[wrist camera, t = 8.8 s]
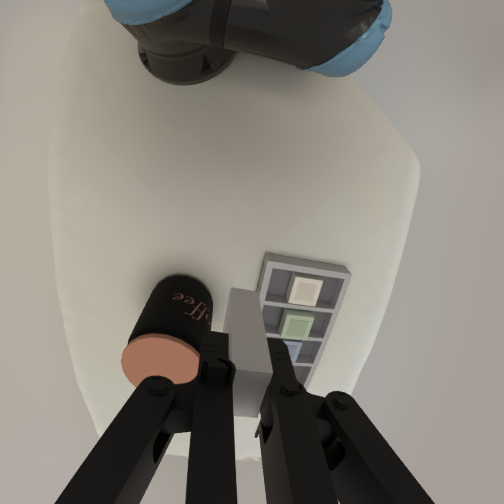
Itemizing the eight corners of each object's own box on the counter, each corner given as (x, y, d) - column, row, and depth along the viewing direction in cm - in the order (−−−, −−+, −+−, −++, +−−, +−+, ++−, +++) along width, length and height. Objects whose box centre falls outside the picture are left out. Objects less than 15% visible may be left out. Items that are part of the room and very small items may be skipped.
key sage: (284, 307, 47) (287, 315, 45) (311, 310, 48) (314, 318, 45) (278, 329, 48) (280, 338, 46) (303, 332, 49) (306, 341, 47)
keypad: (265, 253, 47) (267, 260, 43) (344, 266, 48) (351, 274, 45) (236, 374, 55) (237, 386, 51) (303, 379, 56) (306, 390, 53)
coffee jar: (223, 315, 50) (221, 390, 33) (171, 334, 51) (151, 407, 34) (196, 263, 46) (178, 325, 29) (141, 286, 47) (104, 350, 30)
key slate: (275, 332, 50) (277, 340, 48) (299, 334, 51) (302, 343, 48) (269, 352, 52) (271, 361, 49) (293, 354, 52) (295, 363, 50)
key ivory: (292, 270, 46) (295, 277, 44) (319, 274, 47) (323, 281, 45) (285, 295, 48) (288, 303, 45) (311, 299, 48) (315, 306, 46)
